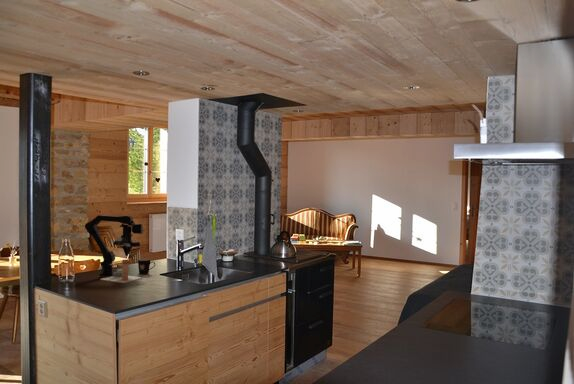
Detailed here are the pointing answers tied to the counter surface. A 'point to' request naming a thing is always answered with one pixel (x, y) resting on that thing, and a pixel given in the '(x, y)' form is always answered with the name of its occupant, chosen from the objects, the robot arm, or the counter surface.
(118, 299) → the counter surface
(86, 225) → the robot arm
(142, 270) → the coffee mug
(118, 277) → the board
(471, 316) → the counter surface
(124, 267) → the marker
